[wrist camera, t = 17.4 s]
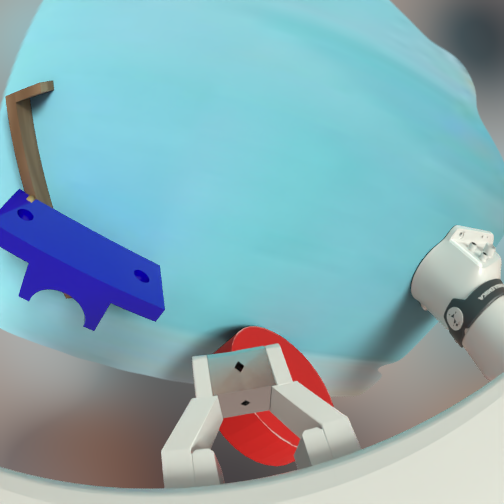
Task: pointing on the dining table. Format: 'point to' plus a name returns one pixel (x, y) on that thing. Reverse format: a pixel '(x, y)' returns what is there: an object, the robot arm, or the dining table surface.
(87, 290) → the mounting bracket
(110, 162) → the dining table surface
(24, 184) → the handle
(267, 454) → the red hockey puck
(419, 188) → the dining table surface
